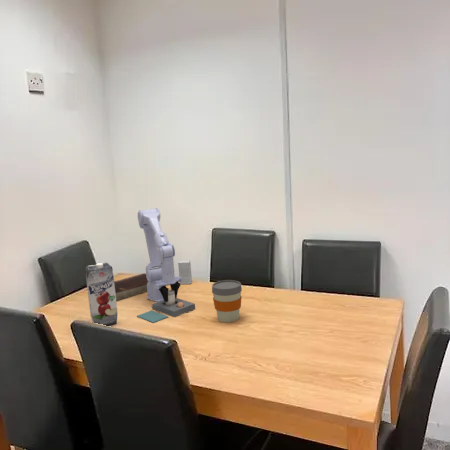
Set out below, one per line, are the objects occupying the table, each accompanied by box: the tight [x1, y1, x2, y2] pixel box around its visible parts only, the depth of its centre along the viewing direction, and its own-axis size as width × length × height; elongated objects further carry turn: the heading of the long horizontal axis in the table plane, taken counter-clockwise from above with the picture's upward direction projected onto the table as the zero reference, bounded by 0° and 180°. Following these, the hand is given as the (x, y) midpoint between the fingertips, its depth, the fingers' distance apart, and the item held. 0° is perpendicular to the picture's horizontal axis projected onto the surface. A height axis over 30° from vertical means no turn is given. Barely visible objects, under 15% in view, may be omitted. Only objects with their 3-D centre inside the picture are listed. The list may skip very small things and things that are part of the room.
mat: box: [136, 309, 169, 324], centre depth 205 cm, size 12×8×1 cm, turn 46°
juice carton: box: [85, 262, 118, 326], centre depth 198 cm, size 9×10×27 cm
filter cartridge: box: [166, 289, 175, 306], centre depth 214 cm, size 4×4×8 cm
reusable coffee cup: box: [211, 279, 243, 323], centre depth 197 cm, size 13×13×15 cm
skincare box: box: [177, 260, 193, 285], centre depth 250 cm, size 6×4×12 cm
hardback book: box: [114, 272, 148, 303], centre depth 244 cm, size 29×19×5 cm, turn 133°
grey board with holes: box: [151, 297, 196, 318], centre depth 213 cm, size 16×12×2 cm
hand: (170, 299), depth 214 cm, fingers closed on filter cartridge, 4 cm apart
